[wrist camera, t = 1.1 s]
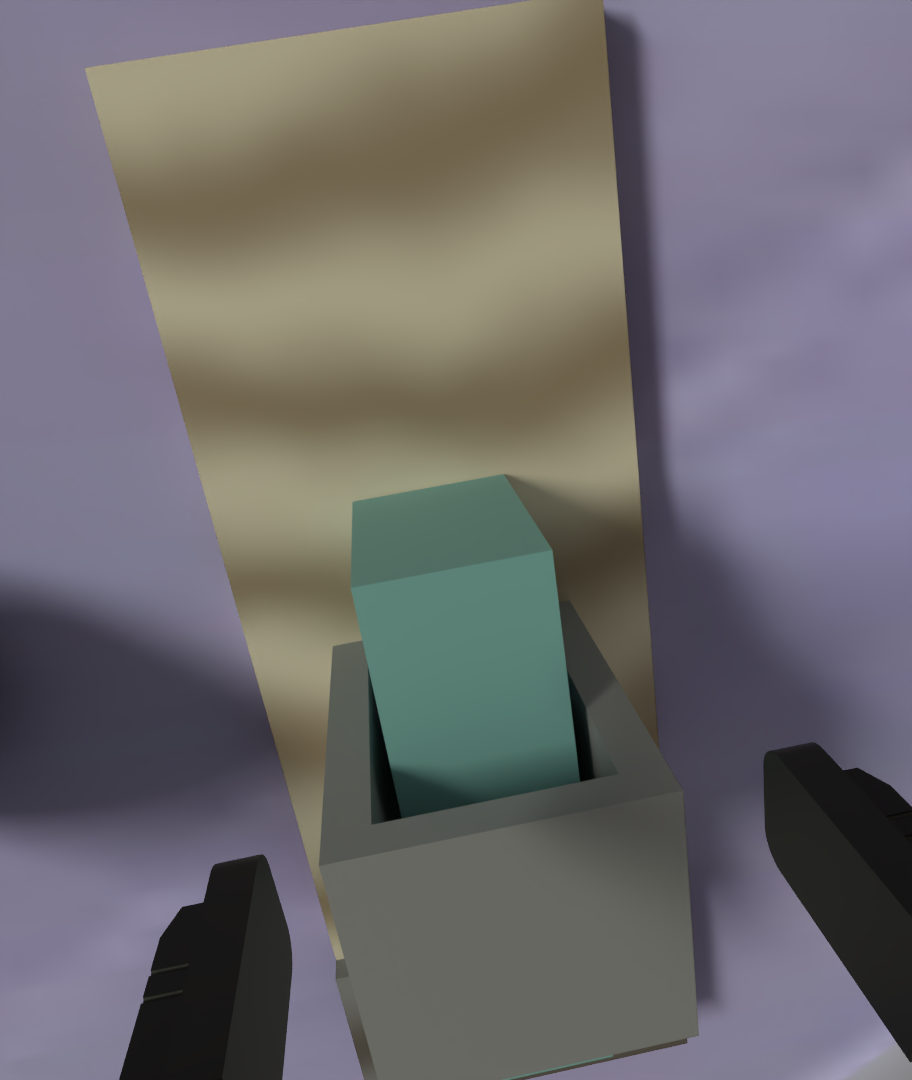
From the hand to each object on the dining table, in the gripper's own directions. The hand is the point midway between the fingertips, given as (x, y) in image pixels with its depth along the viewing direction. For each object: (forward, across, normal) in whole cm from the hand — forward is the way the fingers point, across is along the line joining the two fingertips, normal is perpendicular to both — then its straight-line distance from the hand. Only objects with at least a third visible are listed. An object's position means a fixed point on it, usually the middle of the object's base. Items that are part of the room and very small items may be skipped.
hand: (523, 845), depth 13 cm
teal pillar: (+15, 0, +7) cm, 17 cm away
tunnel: (+15, 0, +7) cm, 17 cm away
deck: (+16, 0, +5) cm, 17 cm away
